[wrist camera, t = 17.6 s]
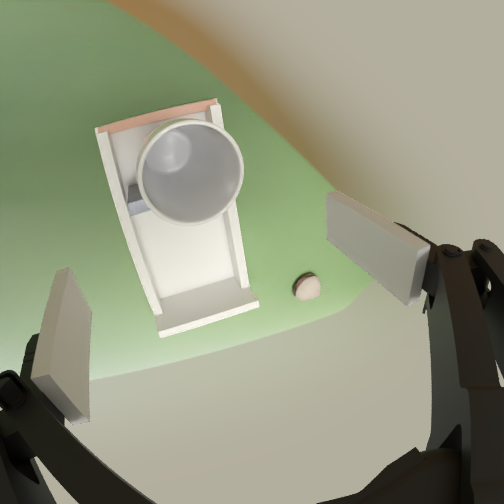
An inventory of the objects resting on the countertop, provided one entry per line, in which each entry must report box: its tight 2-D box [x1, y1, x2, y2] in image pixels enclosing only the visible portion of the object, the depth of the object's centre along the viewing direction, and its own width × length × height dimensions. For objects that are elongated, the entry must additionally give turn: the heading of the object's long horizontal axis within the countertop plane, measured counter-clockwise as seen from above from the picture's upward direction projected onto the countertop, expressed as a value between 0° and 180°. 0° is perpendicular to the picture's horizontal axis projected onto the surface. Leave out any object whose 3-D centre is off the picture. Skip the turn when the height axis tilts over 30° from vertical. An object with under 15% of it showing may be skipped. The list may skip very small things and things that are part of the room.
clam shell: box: [293, 274, 321, 301], centre depth 47 cm, size 4×5×2 cm
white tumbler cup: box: [135, 118, 244, 226], centre depth 25 cm, size 7×7×15 cm
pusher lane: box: [95, 98, 259, 338], centre depth 33 cm, size 23×13×7 cm, turn 8°
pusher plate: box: [127, 184, 150, 216], centre depth 30 cm, size 1×9×6 cm, turn 98°
